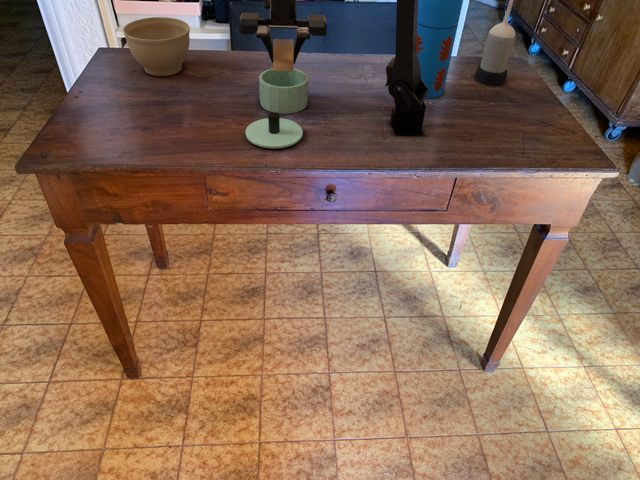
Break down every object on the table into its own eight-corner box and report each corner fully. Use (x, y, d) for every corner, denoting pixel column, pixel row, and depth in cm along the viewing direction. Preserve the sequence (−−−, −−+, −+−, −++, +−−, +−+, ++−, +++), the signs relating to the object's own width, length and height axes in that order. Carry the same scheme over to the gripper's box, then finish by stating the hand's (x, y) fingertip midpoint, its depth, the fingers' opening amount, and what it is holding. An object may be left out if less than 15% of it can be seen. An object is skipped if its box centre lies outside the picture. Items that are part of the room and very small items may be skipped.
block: (293, 63, 118) (293, 39, 114) (293, 71, 114) (293, 46, 111) (274, 62, 117) (273, 39, 114) (273, 70, 114) (273, 46, 110)
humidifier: (502, 74, 140) (530, -24, 123) (507, 86, 134) (538, -15, 117) (472, 71, 140) (497, -27, 124) (476, 84, 134) (502, -18, 118)
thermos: (442, 82, 134) (463, -20, 118) (445, 99, 126) (469, -7, 110) (401, 78, 135) (417, -24, 118) (402, 96, 127) (419, -11, 110)
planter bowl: (120, 77, 129) (110, 34, 121) (150, 54, 140) (143, 14, 133) (178, 86, 126) (171, 42, 119) (204, 62, 138) (199, 21, 131)
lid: (302, 122, 115) (302, 101, 111) (303, 151, 105) (303, 129, 102) (247, 121, 114) (246, 100, 111) (243, 150, 105) (242, 128, 101)
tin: (306, 92, 126) (307, 67, 122) (308, 114, 118) (308, 88, 114) (261, 91, 126) (260, 66, 121) (259, 113, 117) (258, 87, 113)
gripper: (325, -20, 111) (322, 50, 122) (240, -23, 110) (245, 48, 121) (328, -5, 103) (324, 69, 113) (237, -8, 102) (241, 67, 112)
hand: (283, 62), depth 115 cm, fingers closed on block, 4 cm apart
